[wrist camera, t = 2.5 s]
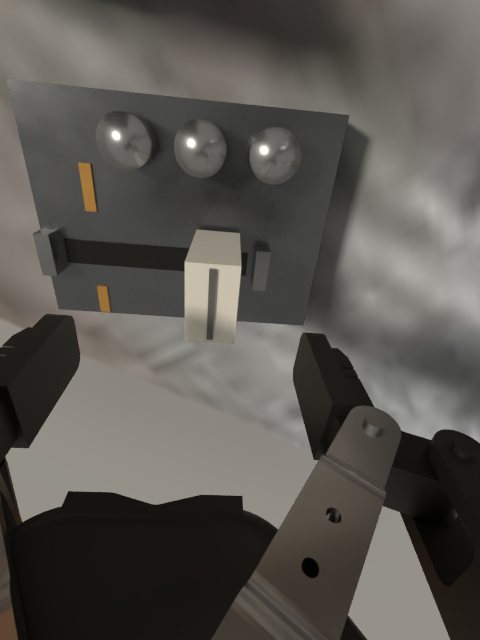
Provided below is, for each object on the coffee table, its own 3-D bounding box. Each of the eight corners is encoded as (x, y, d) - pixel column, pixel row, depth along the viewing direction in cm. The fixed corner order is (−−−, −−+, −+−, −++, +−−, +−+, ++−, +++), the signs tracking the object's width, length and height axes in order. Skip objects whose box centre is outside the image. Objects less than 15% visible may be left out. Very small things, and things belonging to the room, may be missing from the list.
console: (337, 116, 17) (360, 114, 14) (298, 310, 23) (307, 338, 20) (30, 84, 16) (-17, 74, 13) (72, 295, 23) (46, 321, 19)
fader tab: (239, 233, 18) (241, 267, 14) (234, 297, 20) (234, 344, 16) (196, 229, 18) (184, 262, 14) (195, 294, 20) (184, 341, 16)
